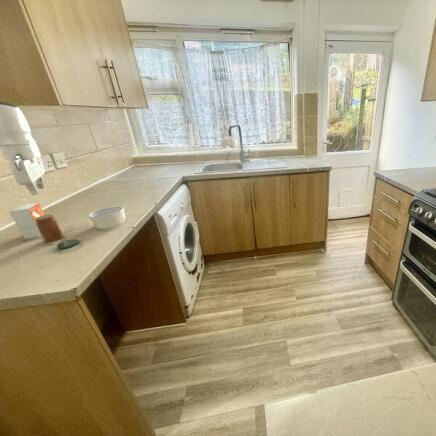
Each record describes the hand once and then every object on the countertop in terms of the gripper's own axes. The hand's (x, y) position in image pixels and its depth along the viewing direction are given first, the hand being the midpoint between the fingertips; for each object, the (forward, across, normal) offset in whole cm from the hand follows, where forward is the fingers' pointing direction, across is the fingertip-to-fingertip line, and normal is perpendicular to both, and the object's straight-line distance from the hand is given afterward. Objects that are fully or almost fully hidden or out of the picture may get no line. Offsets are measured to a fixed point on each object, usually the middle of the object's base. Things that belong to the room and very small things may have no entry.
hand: (38, 191), depth 90 cm
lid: (+21, -6, -3) cm, 22 cm away
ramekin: (+22, +10, -17) cm, 29 cm away
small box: (+23, +18, +10) cm, 30 cm away
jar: (+22, +6, +3) cm, 23 cm away
